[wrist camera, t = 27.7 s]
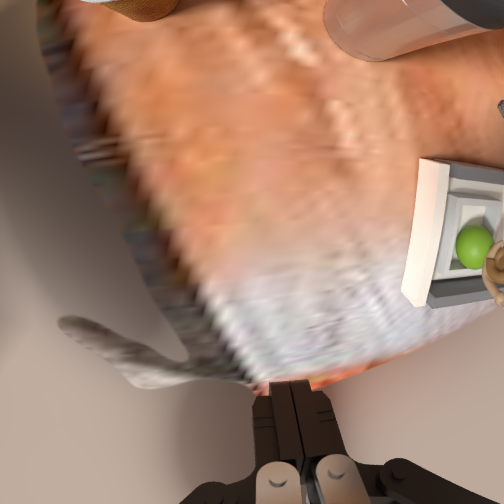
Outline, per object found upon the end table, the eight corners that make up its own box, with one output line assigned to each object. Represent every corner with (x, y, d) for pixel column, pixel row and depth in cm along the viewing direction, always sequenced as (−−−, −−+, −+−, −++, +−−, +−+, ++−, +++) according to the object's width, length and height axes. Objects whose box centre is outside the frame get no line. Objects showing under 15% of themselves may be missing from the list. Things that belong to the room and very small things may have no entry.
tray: (419, 158, 30) (439, 163, 27) (510, 172, 31) (530, 179, 27) (400, 290, 37) (414, 306, 33) (489, 280, 38) (504, 292, 34)
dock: (433, 158, 31) (459, 164, 26) (520, 173, 32) (543, 181, 27) (413, 289, 37) (432, 308, 33) (498, 278, 38) (517, 293, 34)
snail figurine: (436, 256, 34) (495, 305, 23) (461, 211, 32) (527, 248, 21) (459, 270, 35) (515, 318, 24) (482, 229, 33) (543, 268, 22)
